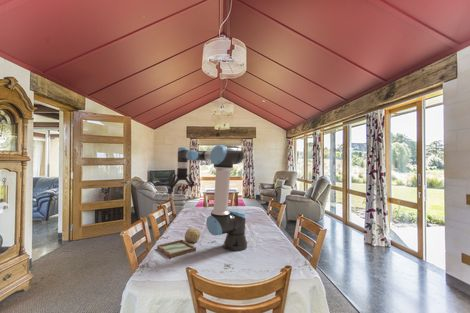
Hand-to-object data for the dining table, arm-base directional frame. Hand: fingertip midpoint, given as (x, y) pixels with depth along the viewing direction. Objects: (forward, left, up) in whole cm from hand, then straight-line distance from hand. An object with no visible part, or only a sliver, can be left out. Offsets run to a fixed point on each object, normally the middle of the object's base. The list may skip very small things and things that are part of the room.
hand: (181, 195), depth 180 cm
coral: (-24, +4, -27) cm, 37 cm away
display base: (-30, +19, -27) cm, 45 cm away
